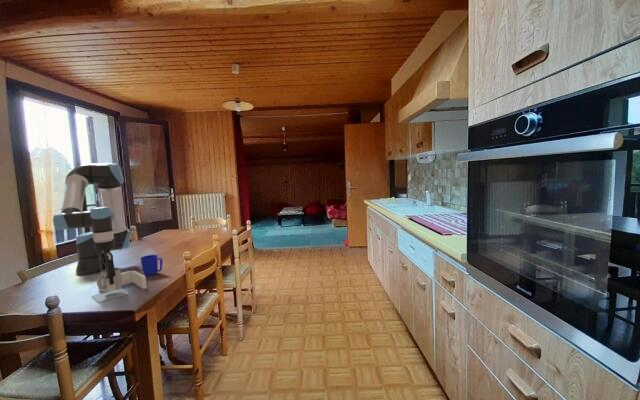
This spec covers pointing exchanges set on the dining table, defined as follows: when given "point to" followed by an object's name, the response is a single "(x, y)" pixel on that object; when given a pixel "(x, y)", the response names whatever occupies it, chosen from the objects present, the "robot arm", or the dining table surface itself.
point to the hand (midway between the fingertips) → (109, 288)
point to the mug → (150, 264)
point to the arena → (132, 279)
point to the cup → (103, 277)
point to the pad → (109, 295)
